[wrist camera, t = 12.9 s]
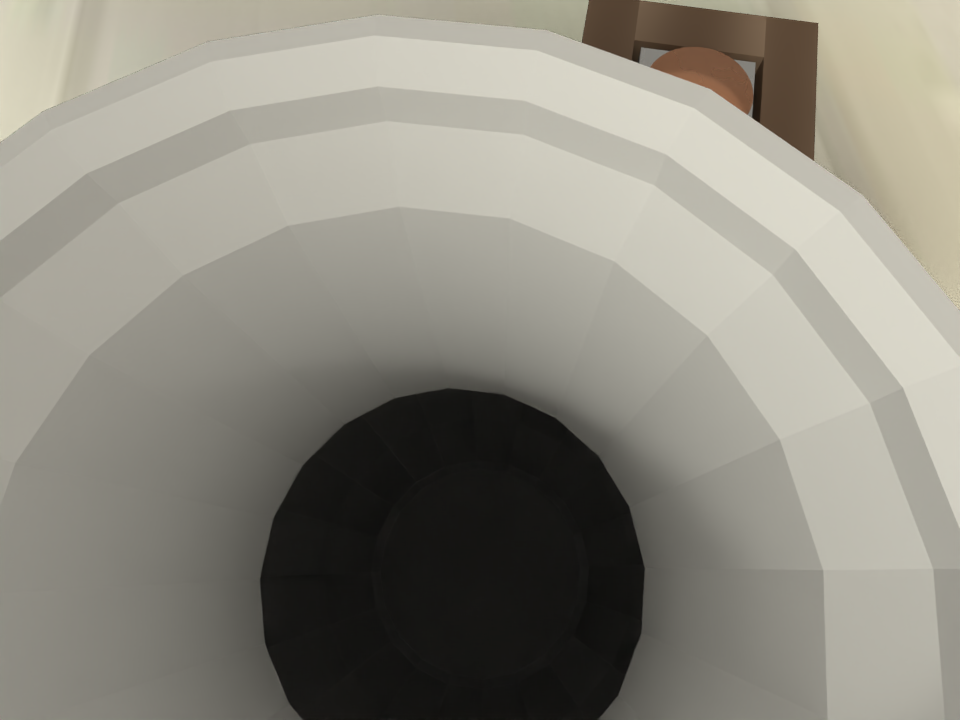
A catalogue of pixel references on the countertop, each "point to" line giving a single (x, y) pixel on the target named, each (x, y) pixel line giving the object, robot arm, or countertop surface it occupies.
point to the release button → (707, 72)
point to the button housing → (764, 40)
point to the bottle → (461, 398)
